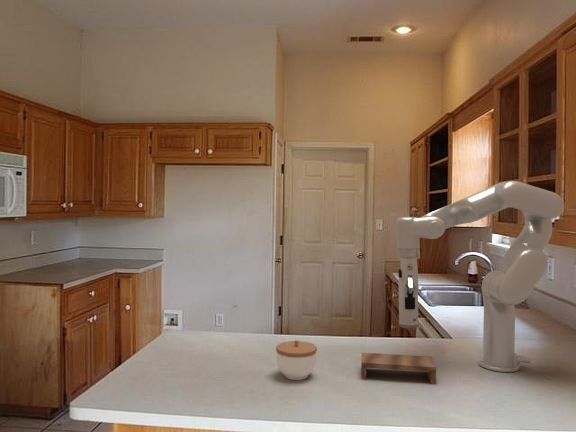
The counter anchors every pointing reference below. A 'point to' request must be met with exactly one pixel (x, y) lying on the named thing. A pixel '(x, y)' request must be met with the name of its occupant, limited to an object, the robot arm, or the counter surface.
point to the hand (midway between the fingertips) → (409, 306)
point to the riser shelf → (399, 363)
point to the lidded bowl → (296, 359)
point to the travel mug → (407, 316)
